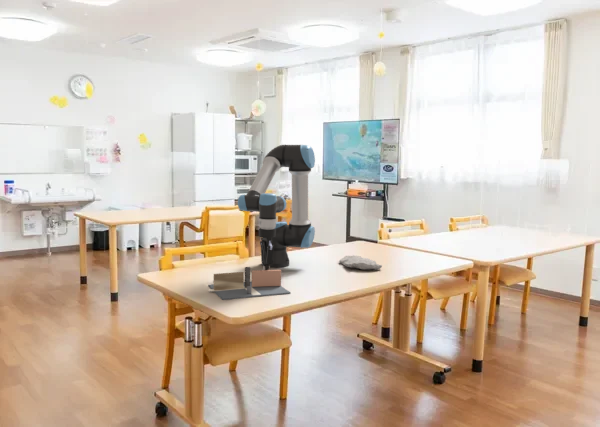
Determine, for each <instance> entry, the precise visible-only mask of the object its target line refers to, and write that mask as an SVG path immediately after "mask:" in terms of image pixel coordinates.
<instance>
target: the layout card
mask: <svg viewBox="0 0 600 427" xmlns="http://www.w3.org/2000/svg"><path fill="white" fill-rule="evenodd" d="M208 287H209V288H210V289H209V288H208V291H209V292H214V293H215V294H216V295H217V296H218V297H219V298H220V299H221V300H222V301H225V300H226V301H227V300H239V299H248V298H259V297H269V296H277V295H278V296H281V295H291V291H289V290H288V289H286V288H285V287H283V286H282V285H281V286H262V287H252V280H250V286H247V288H245V281H244V288H238V289H226V290H214V283H212V284H208Z"/></svg>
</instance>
